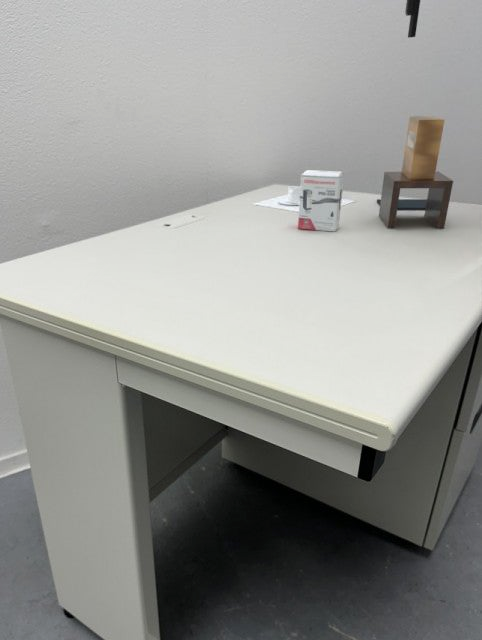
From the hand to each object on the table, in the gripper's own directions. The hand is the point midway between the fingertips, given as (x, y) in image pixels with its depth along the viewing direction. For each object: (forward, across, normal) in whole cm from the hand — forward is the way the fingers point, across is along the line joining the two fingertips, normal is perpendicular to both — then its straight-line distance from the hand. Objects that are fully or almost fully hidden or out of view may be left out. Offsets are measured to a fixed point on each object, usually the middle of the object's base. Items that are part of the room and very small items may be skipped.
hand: (450, 35), depth 99 cm
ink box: (+36, -21, +4) cm, 42 cm away
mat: (+36, +4, +27) cm, 45 cm away
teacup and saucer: (+36, -22, +31) cm, 52 cm away
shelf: (+36, 0, +10) cm, 37 cm away
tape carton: (+26, 0, +10) cm, 28 cm away
